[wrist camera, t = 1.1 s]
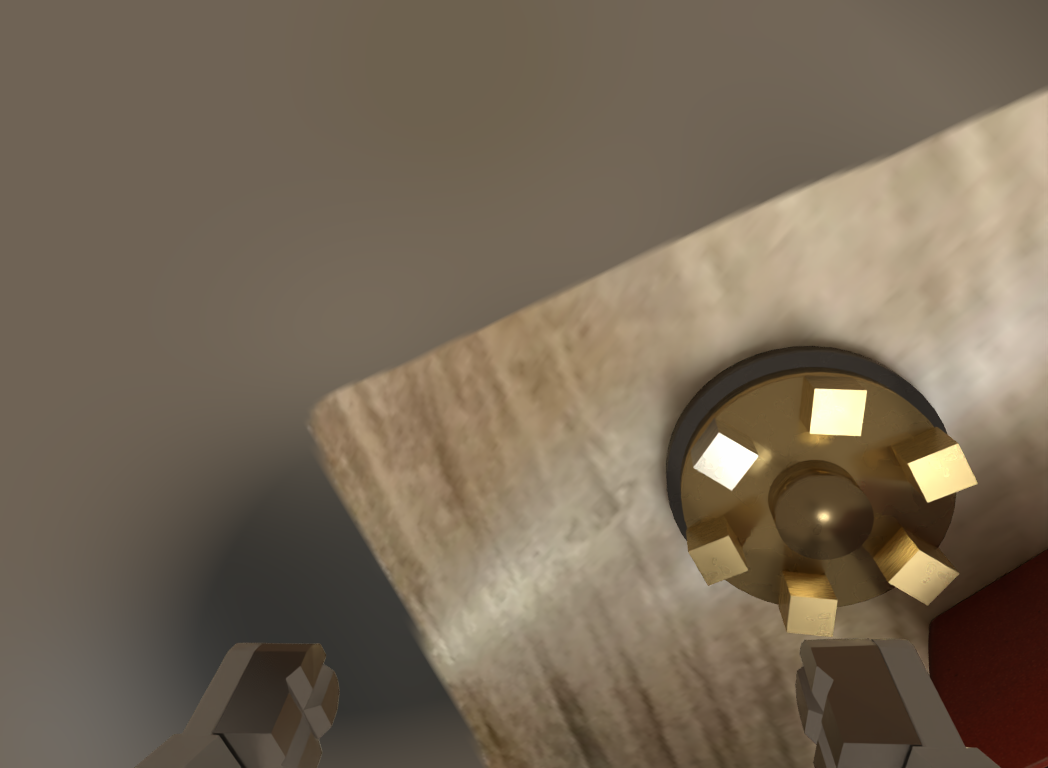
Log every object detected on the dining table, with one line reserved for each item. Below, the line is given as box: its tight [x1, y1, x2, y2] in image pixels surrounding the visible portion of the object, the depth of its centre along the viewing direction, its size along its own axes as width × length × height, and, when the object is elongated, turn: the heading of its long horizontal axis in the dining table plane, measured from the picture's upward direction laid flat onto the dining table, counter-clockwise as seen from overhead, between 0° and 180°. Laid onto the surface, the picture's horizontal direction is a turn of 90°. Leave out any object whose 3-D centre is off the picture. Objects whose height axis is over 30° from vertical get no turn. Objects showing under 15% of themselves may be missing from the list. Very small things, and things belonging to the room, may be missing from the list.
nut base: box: [666, 346, 948, 541], centre depth 47 cm, size 20×20×2 cm
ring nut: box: [680, 367, 978, 637], centre depth 44 cm, size 18×18×6 cm
